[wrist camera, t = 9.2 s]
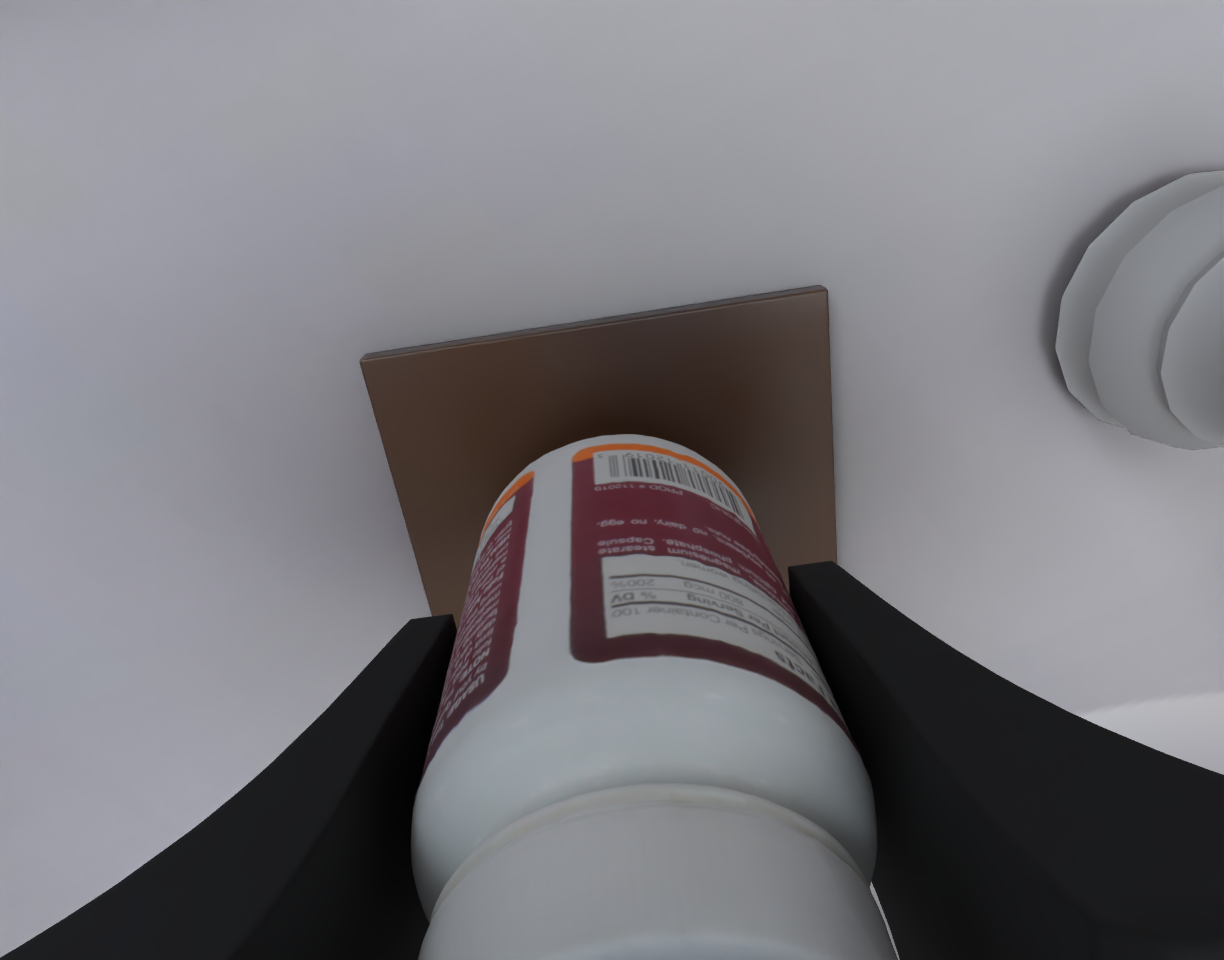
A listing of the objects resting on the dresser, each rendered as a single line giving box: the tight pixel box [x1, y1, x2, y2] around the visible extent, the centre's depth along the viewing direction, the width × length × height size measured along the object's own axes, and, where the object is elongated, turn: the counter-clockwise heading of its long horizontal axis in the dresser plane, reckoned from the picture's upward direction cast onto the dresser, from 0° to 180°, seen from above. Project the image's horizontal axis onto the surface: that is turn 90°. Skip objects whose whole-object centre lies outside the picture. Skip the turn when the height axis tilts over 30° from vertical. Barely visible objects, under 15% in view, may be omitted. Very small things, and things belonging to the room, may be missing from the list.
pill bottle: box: [411, 434, 898, 960], centre depth 10 cm, size 5×5×8 cm
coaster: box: [360, 285, 837, 631], centre depth 15 cm, size 8×8×1 cm
